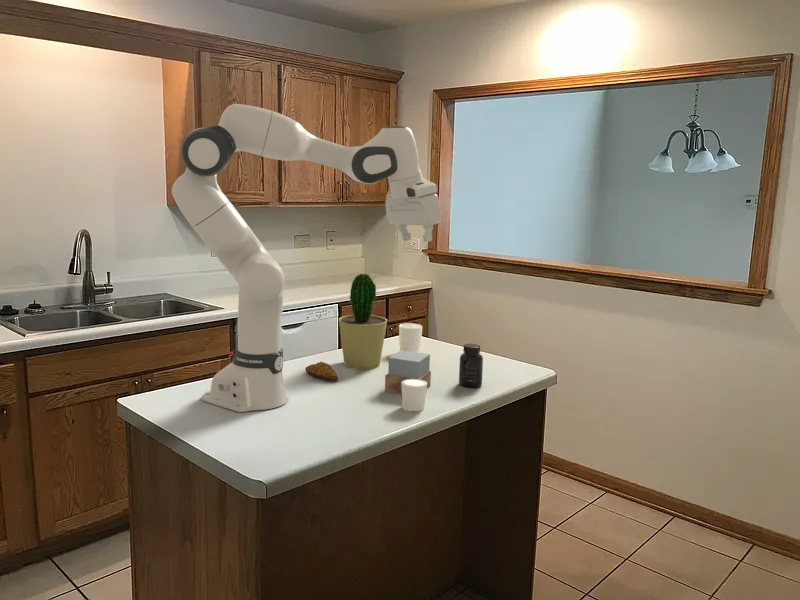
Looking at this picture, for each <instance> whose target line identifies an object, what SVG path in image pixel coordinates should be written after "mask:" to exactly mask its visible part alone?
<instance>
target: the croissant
mask: <svg viewBox="0 0 800 600" xmlns="http://www.w3.org/2000/svg"><path fill="white" fill-rule="evenodd" d="M305 372H306V374H308V375H309V376H311V377H313V378H315V379H319V380H323V381H328V382H338V381H339V375H338V372H336V370H335V369H334V368H332V366H331V364H329V363H326V362H323V361H319V362H317V363H313V364H310V365H307V366H306V367H305Z"/></svg>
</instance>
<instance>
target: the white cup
mask: <svg viewBox="0 0 800 600" xmlns="http://www.w3.org/2000/svg"><path fill="white" fill-rule="evenodd" d="M398 328H399V329H398V333H399V334H398V336H399V338H398V341H399V343H398V344H399V351H401V350H403V351H410V352H417V353H421V345H422V336H423V326H422V325H421V324H420V323H419V324H418V323H411V322H410V323H405V322H404V323H401V324H399V325H398Z"/></svg>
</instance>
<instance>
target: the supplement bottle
mask: <svg viewBox="0 0 800 600" xmlns="http://www.w3.org/2000/svg"><path fill="white" fill-rule="evenodd" d="M462 351H463V353H461V354H460V357H459V366H458V367H459V368H458V369H459V370H458V384H459V386H461V387H463V388H466V387H467V389H476V388H479V387H482V384H483V372H484V371H483V370H484V357H483V355H482V354H481V345H480V344H478V343H465V344H464V345H463V350H462Z"/></svg>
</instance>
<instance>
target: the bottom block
mask: <svg viewBox="0 0 800 600" xmlns="http://www.w3.org/2000/svg"><path fill="white" fill-rule="evenodd" d="M431 375H432V371H431V370H429V372H427V373H426V374H425V375H423V376H422V377H421V378H419V379H420V380H424V381H426V382H427V390H428V389H429V388H431V379H432V377H431ZM384 378H385V379H384V382H385V383H384V392H386V391H388V392H387V393H392V392H393V394H398V393H400V395H402V386H401V382H402V381H403V380H406V379H412V378H406V377H399V376H393V375H388V373H386V374H385V376H384Z"/></svg>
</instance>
